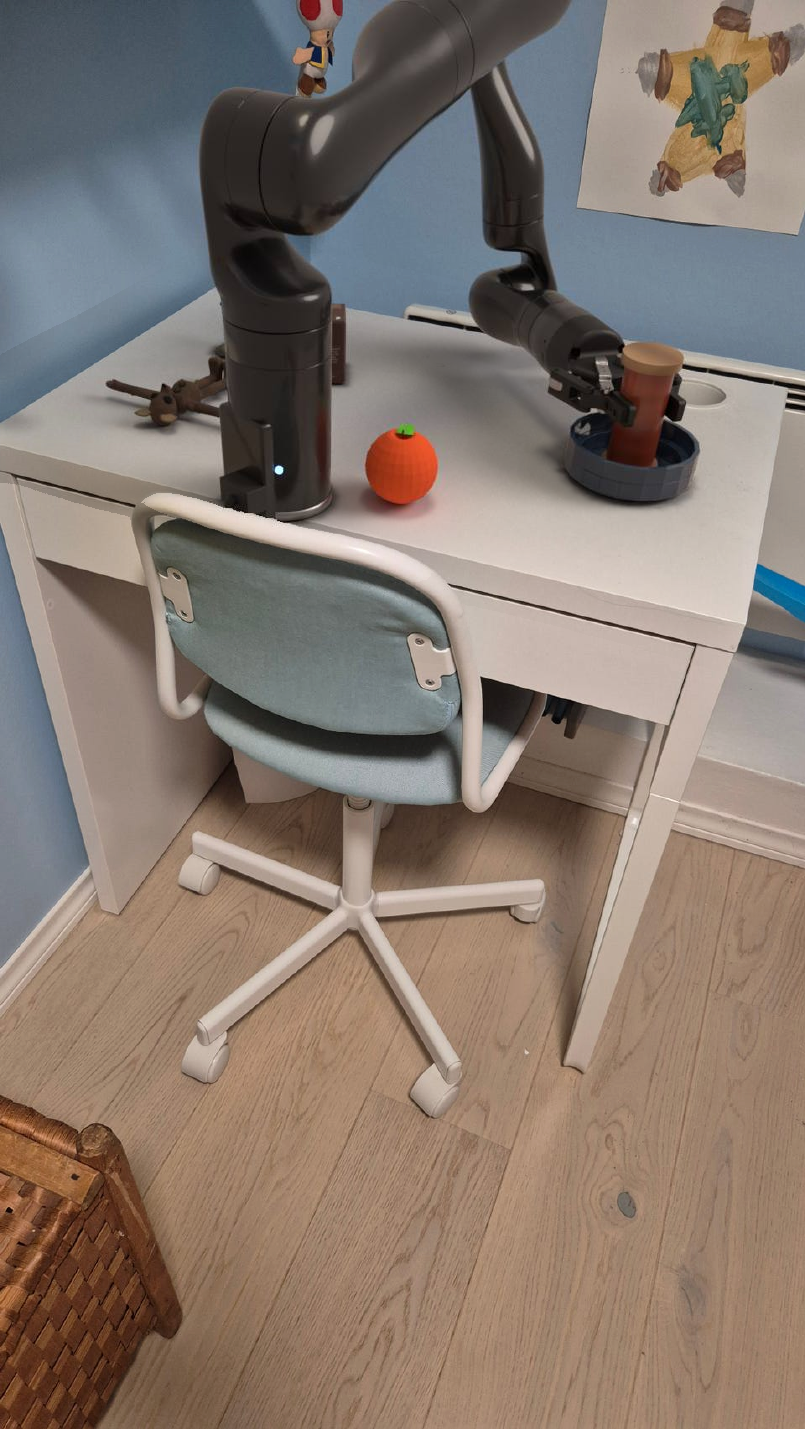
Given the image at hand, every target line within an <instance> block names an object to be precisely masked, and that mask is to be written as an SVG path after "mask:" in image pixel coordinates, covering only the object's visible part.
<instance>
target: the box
mask: <svg viewBox="0 0 805 1429" xmlns="http://www.w3.org/2000/svg"><path fill="white" fill-rule="evenodd" d="M346 312H347V310H346V303H333V302H332V384H345V383H346V370H347V368H346V366H347V313H346Z"/></svg>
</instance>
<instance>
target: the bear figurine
mask: <svg viewBox="0 0 805 1429" xmlns="http://www.w3.org/2000/svg"><path fill="white" fill-rule="evenodd" d="M207 366H208V369H209V375H206V376H204V377H202V378H199V379H195V380H194V381H191V380H186V379H184V378H181V379H178V380H177V381H176V382H175V383H173V385H172V386H170V385H168V384H167V383H161V386H160V389H159V390H160V391H159V390H155V389H150V388H145V387H141V386H137V385H133V384H129V383H126V382H121V381H120V380H117V379H115V378H113V379H112V380H111V379H110V380H107V381H106V382H105V386H106V387H107V388H108V389H110V390H113V391H116V392H119V393H123V394H128V395H130V396H132V397H139V398H142V399H145V400H149V406H148V407H147V408H146V407H145V408H140V409H138V410H136V411H134V415H136V416H138V417H142V418H146V417H149V416H150V418H151V420H152V422H153V423H154V424H157V425H159V426H164V427H165V426H166V427H167V426H170V425H171V424H172V423H175V422H176V421H178V416H177V415H183V414H185V413H187V411H188V412H190V413H196V414H198V415H200V414H201V415H202V414H203V415H206V416H210V417H215V418H218V419H220V415H219V406H214V405H211V404H208V403H204V402H202V400H204V399H205V398H209V397H210V396H212V395H216V394H218V393H219V392H220V391H225V390H227V378H226V362H225V360H224V359H223V358H221V357H219V356H217V355H216V356H211V357H209V358H208V360H207Z"/></svg>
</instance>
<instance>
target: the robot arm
mask: <svg viewBox="0 0 805 1429" xmlns="http://www.w3.org/2000/svg"><path fill="white" fill-rule="evenodd" d="M572 2H573V0H391V1H390V2H389V3H387V4H386V5H384V6H383V7H382V8H381V9H379V10H378V11H377V12H376V13H375V14H374V15H372V17H371V18H370V19H368V21H367V22H366V23H365V24H364V25H363V27H362V29H361V31H360V33H359V34H358V37H357V39H356V43H355V46H354V49H353V53H352V61H351V83H349V84H348V85H346V87H344V88H342V89H340V90H339V91H337V92H335V93H333V94H331V95H329V96H324V97H305V96H300V95H294V94H288V93H283V92H277V91H271V90H264V89H261V88H255V87H254V88H253V87H245V86H233V87H229V88H226V89H224V90H222V91H220V92H219V93H218V94H217V95H216V96H215V97H214V98H213V99H212V101H211V102H210V104H209V106H208V107H207V110H206V112H205V115H204V118H203V120H202V125H201V128H200V130H201V131H200V134H199V143H198V144H199V145H198V174H199V187H200V196H201V197H200V198H201V204H202V212H203V218H204V219H203V220H204V227H205V228H204V229H205V236H206V244H207V252H208V261H209V268H210V274H211V277H212V281H213V283H214V285H215V289H216V291H217V293H218V295H219V298H220V302H221V306H222V308H221V314H222V329H223V343H224V345H225V355H224V361H225V362H226V378H227V388H226V391H227V394H226V395H227V401H225V402H222V403H220V404H219V406H218V408H219V415H220V418H219V428H220V438H221V439H220V440H221V454H222V470H223V475H221V476H219V487H220V488H219V490H220V500H221V501H222V502H223V503H224V504H223V508H224V507H225V508H233V509H234V510H235V511H237V510H239V511H242V512H244V513H254V514H256V515H259V516H263V517H265V518H274V519H277V520H280V521H281V522H282V521H283V522H285V521H296V520H303V519H306V518H307V519H308V518H310V517H313V516H315V515H318V514H320V513H321V512H323V511H324V510H326V509H327V508H328V507H329V506H330V504H331V502H332V500H333V485H332V412H333V411H332V410H333V409H332V408H333V406H332V405H333V404H332V395H333V394H332V392H333V391H332V390H333V389H332V388H333V387H332V386H333V385H332V384H333V383H332V303H333V290H332V286H331V283H330V281H329V279H328V278H327V277H326V276H325V275H324V273H323V272H321V271H320V270H319V269H318V268H316V267H315V266H314V265H312V264H311V263H310V262H309V261H308V260H307V259H305V258H304V257H303V256H302V255H301V254H300V253H299V252H298V251H297V250H296V248H295V247H294V246H293V245H292V243H291V242H290V240H289V238H288V237H287V235H291V236H294V237H314V236H319V235H322V234H324V233H326V232H328V231H329V230H330V229H332V228H333V227H335V226H336V225H337V224H338V223H339V222H341V220H342V219H343V218H345V216H346V215H347V214H348V213H349V212H350V211H351V210H352V208H353V207H354V206H355V205H356V204H357V202H358V201H359V200H360V198H361V197H362V196H363V195H364V194H365V192H367V190H368V189H369V187H370V186H371V185H372V184H373V182H374V181H375V180H376V179H377V177H378V176H379V175H380V174H381V173H382V172H383V171H384V169H385V168H386V167H387V166H388V165H389V164H390V163H391V161H393V159H394V158H395V157H396V156H397V155H398V154H399V153H401V151H402V150H404V149H405V148H406V147H407V146H408V145H409V144H410V142H412V141H413V140H414V139H415V138H416V137H417V136H418V135H419V134H420V133H421V132H422V131H423V130H424V129H426V128H427V127H428V126H429V125H430V124H432V123H434V122H435V121H436V120H438V119H439V118H440V117H441V116H443V115H444V113H446V112H447V111H448V110H449V109H450V108H451V107H453V105H455V104H456V103H457V102H458V101H459V100H460V99H461V98H462V97H463V96H464V95H465V94H466V93H467V92H470V97H471V103H472V108H473V115H474V120H475V127H476V134H477V142H478V152H479V162H480V185H481V186H480V187H481V188H480V189H481V190H480V191H481V193H480V194H481V228H482V237H483V240H484V243H485V244H486V246H488V247H489V249H492V250H494V251H498V252H506V253H519V254H520V263H517V264H512V265H508V266H504V267H499V268H495V269H491V270H487V271H485V272H482V273H481V274H479V275H478V276H477V277H476V278H475V279H474V281H473V282H472V284H471V285H470V288H469V291H468V298H467V300H468V301H467V302H468V310H469V312H470V315H471V317H472V320H473V322H474V323H475V325H476V326H477V327H478V328H479V329H480V330H481V331H482V332H483V333H484V334H486V335H487V336H488V337H490V338H492V339H494V340H496V341H500V342H502V343H505V344H509V345H512V346H515V347H519V348H523V349H524V351H526V352H527V353H528V354H529V355H530V356H532V357H533V358H534V359H535V360H536V362H537V363H538V364H539V366H540V367H541V368H542V370H544V371H545V372H546V373H547V374H548V375H549V380H548V385H547V386H548V388H547V394H549V395H550V396H552V397H554V398H556V399H557V400H559V401H561V402H562V403H565V404H567V405H568V406H570V407H572V408H573V409H575V410H576V411H578V412H580V413H583V414H590V413H591V410H592V409H594V410H595V409H596V412H599V413H602V414H607V415H609V416H610V417H611V418H612V419H613V420H614V421H615V422H618V423H620V424H621V425H622V426H623V427H624V428H627V427H632V426H633V424H634V419H635V415H636V406H635V405H634V404H633V403H632V402H631V401H630V400H628V399H627V398H626V397H625V396H623V395H622V394H621V393H620V392H619V391H620V386H621V382H622V377H623V372H624V367H625V366H624V365H623V364H622V362H621V356H622V351H623V348H624V347H625V346H626V344H625V341H624V339H623V338H622V336H621V335H620V334H619V333H618V332H617V331H616V330H614V329H613V328H612V327H610V326H609V325H607V323H605V322H604V321H602V320H600V318H598V317H597V316H595V315H594V314H593V313H592V312H590V311H589V310H587V309H585V308H583V307H581V306H578V305H577V304H575V303H574V302H573V301H571V300H570V299H569V298H567V297H566V296H565V295H564V294H561V293H560V292H559V290H558V289H559V288H558V284H557V279H556V275H555V272H554V267H553V264H552V260H551V256H550V251H549V246H548V242H547V236H546V229H545V181H546V180H545V168H544V166H545V164H544V159H543V155H542V151H541V148H540V144H539V142H538V139H537V136H536V134H535V132H534V130H533V127H532V126H531V123H530V121H529V119H528V117H527V115H526V113H525V111H524V109H523V107H522V105H521V103H520V101H519V98H518V96H517V93H516V92H515V88H514V86H513V84H512V80H511V78H510V74H509V71H508V67H507V62H506V59H507V57H509V56H511V54H513V53H514V52H516V51H517V50H519V49H521V48H522V47H524V46H525V45H527V44H528V43H530V42H532V41H534V40H535V39H537V38H539V37H540V36H543V35H544V34H546V33H548V32H549V31H551V30H553V29H554V28H555V27H556V26H557V25H558V24H559V23H560V22H561V21H562V19H563V18H564V17H565V15H566V14H567V12H568V10H569V8H570V7H571V4H572ZM221 306H220V307H221ZM682 382H683V377H682V376H681V375H680V373H679V372H678V373H676V374H675V375H674V379H673V383H672V388H671V392H670V396H669V400H668V404H667V408H666V412H665V416H664V417H666V418H667V420H669V421H671V422H674V423H678V422H681V421H682V420H683V417H684V414H685V410H686V407H687V400H686V399H685V398H683V397H682V396H681V395H680V394H679V392H680V388H681V385H682ZM239 511H238V512H239Z"/></svg>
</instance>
